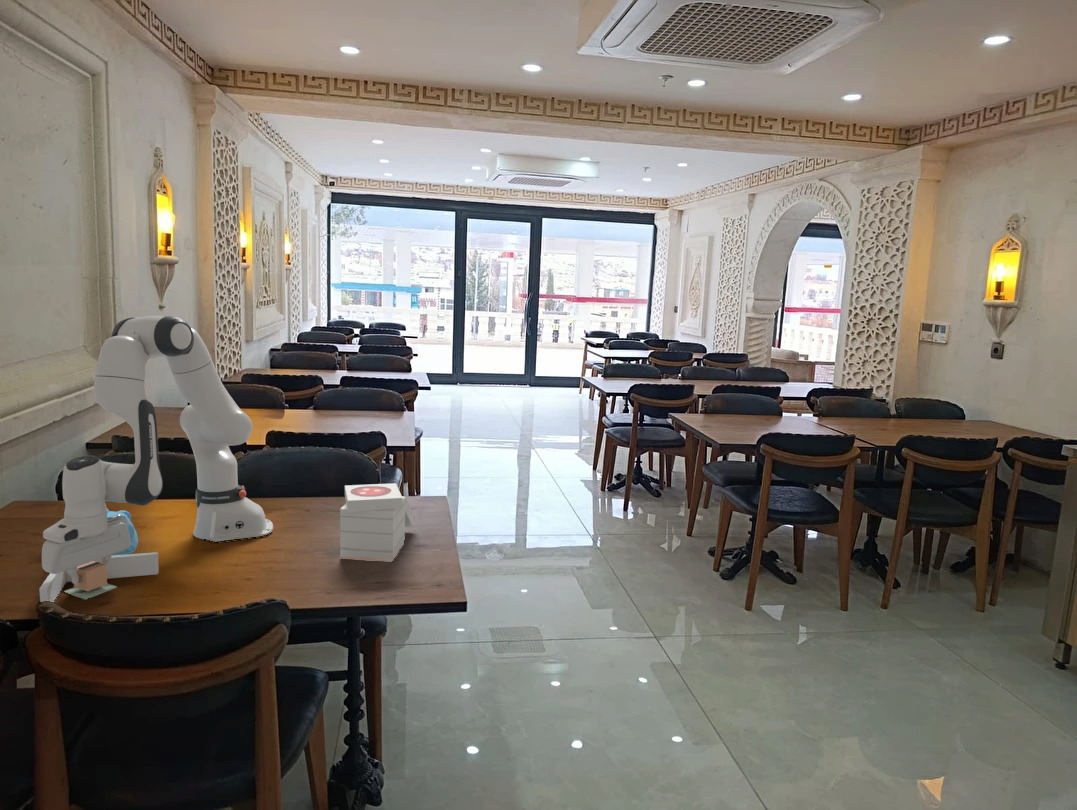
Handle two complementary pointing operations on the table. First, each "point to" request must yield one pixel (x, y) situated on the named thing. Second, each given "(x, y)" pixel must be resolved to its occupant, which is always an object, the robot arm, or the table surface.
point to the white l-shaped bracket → (116, 569)
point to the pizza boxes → (373, 521)
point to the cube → (91, 575)
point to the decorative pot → (130, 528)
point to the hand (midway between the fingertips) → (90, 578)
